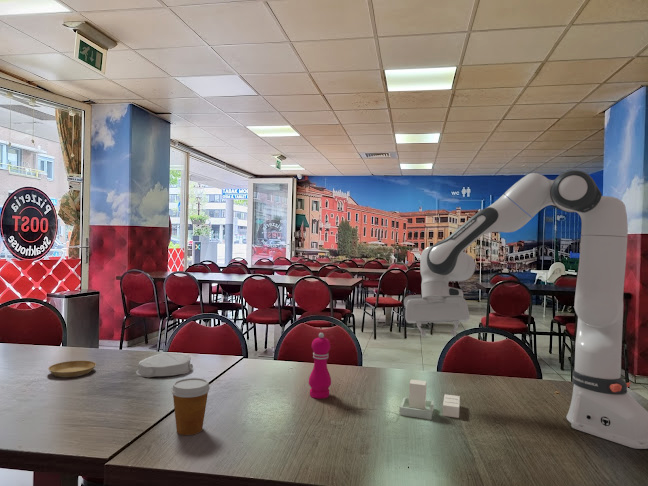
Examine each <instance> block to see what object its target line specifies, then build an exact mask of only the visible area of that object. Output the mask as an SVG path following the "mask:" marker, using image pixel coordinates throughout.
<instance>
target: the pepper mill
mask: <svg viewBox="0 0 648 486" xmlns="http://www.w3.org/2000/svg"><path fill="white" fill-rule="evenodd" d="M311 349H312V351H313V352H312V355H313V356H312V358H313V368H312V370H311V373H310V375H309V377H308V385H309V387H310V389H309V396H310V397H311V398H313V399H319V400H320V399H327V398H329V397H330V387H331V386H332V385H331V384H332V378H331V374H330V372H329V369H328V365H327V364H328V362H327V361H328V359H329V351H330V350H331V343H330V340H329V339H328V338H326V337H325V334H324V333H323V332H319V333H318V337H316V338H314V339H313V340H312V342H311Z"/></svg>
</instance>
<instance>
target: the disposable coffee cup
mask: <svg viewBox="0 0 648 486" xmlns="http://www.w3.org/2000/svg"><path fill="white" fill-rule="evenodd" d="M210 389H211V385H210V383H209V381H208V380H207V379H205V378H201V377H200V378H199V377H189V378H188V377H187V378H181V379H179V380H175V381H174V382H173V384H172V387H171V389H170V391H171V394H172V398H173V406H174V407H173V408H174V409H173V410H174V416H175V417H174V418H175V419H174V420H175V425H176V426H175V428H176V429H175V430H176V434H178V435H182V436H191V435H192V436H193V435H197V434H199V433H201V432H202V430H203V427H204V423H205V414H206V408H207V401H208V396H209V394H208V393H209V392H210Z"/></svg>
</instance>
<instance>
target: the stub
mask: <svg viewBox="0 0 648 486" xmlns="http://www.w3.org/2000/svg"><path fill="white" fill-rule="evenodd" d="M408 387H409V388H408V389H409V391H408V398H409V408H415V409H422V410H425V409H426V400H427V380H419V379H412V378H411V379H410V380H409V385H408Z"/></svg>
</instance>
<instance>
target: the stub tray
mask: <svg viewBox="0 0 648 486" xmlns="http://www.w3.org/2000/svg"><path fill="white" fill-rule="evenodd" d="M434 409H435V401H434V400H430V399H429V400H428V399H426V409H425V410H422V409H415V408H409V396H408V397H407V396H403V399H402V400H401V403H400V405H399V409H398V410H399V414H398V415H399V416H405V417H412V418H418V419H424V420H432V419H433V415H434V414H433V413H434Z"/></svg>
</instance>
